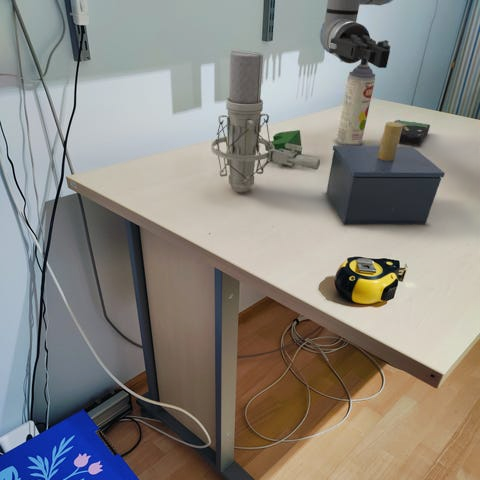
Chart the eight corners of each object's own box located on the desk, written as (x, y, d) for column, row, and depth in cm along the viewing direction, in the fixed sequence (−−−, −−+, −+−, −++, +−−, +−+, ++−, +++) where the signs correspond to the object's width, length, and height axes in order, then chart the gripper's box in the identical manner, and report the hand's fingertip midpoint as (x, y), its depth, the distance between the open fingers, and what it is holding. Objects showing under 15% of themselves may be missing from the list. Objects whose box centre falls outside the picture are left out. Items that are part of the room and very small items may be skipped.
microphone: (298, 221, 80) (319, 69, 64) (199, 193, 87) (196, 52, 72) (322, 198, 88) (346, 59, 72) (230, 175, 96) (233, 45, 80)
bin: (398, 194, 91) (410, 151, 85) (425, 224, 80) (441, 178, 75) (326, 194, 90) (333, 150, 84) (343, 224, 79) (353, 177, 73)
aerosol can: (356, 148, 114) (374, 63, 102) (332, 143, 117) (347, 59, 104) (364, 142, 119) (382, 59, 106) (341, 137, 121) (356, 56, 109)
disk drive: (420, 147, 117) (427, 133, 128) (423, 137, 116) (430, 123, 126) (382, 141, 121) (393, 128, 131) (385, 130, 119) (395, 118, 129)
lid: (411, 150, 85) (422, 114, 81) (443, 177, 74) (457, 137, 70) (332, 149, 84) (338, 112, 80) (353, 176, 73) (361, 135, 69)
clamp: (279, 170, 111) (279, 134, 109) (301, 169, 109) (301, 131, 107) (263, 166, 100) (262, 125, 98) (287, 164, 98) (287, 121, 96)
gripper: (372, 61, 99) (411, 83, 81) (318, 60, 98) (346, 81, 80) (380, 23, 95) (424, 36, 77) (323, 20, 93) (354, 33, 75)
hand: (384, 59), depth 78 cm, fingers closed
